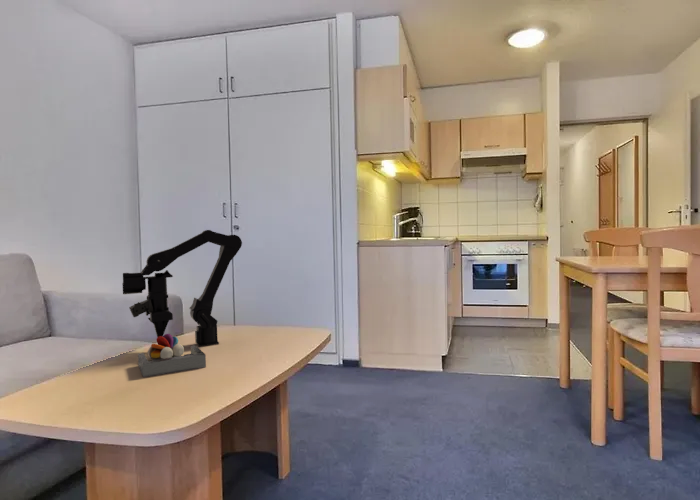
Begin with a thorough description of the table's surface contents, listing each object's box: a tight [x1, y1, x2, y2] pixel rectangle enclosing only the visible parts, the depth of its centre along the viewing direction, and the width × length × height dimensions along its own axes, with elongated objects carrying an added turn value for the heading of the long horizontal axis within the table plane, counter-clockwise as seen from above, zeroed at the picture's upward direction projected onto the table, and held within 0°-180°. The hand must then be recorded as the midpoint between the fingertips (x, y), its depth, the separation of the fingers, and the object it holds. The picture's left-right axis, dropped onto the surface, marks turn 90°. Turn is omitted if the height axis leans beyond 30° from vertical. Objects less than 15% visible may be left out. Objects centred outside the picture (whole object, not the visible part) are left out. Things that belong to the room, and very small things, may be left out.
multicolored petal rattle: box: [147, 333, 185, 360], centre depth 139 cm, size 8×10×7 cm
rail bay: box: [137, 345, 207, 378], centre depth 129 cm, size 16×14×4 cm
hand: (159, 339), depth 150 cm, fingers closed
